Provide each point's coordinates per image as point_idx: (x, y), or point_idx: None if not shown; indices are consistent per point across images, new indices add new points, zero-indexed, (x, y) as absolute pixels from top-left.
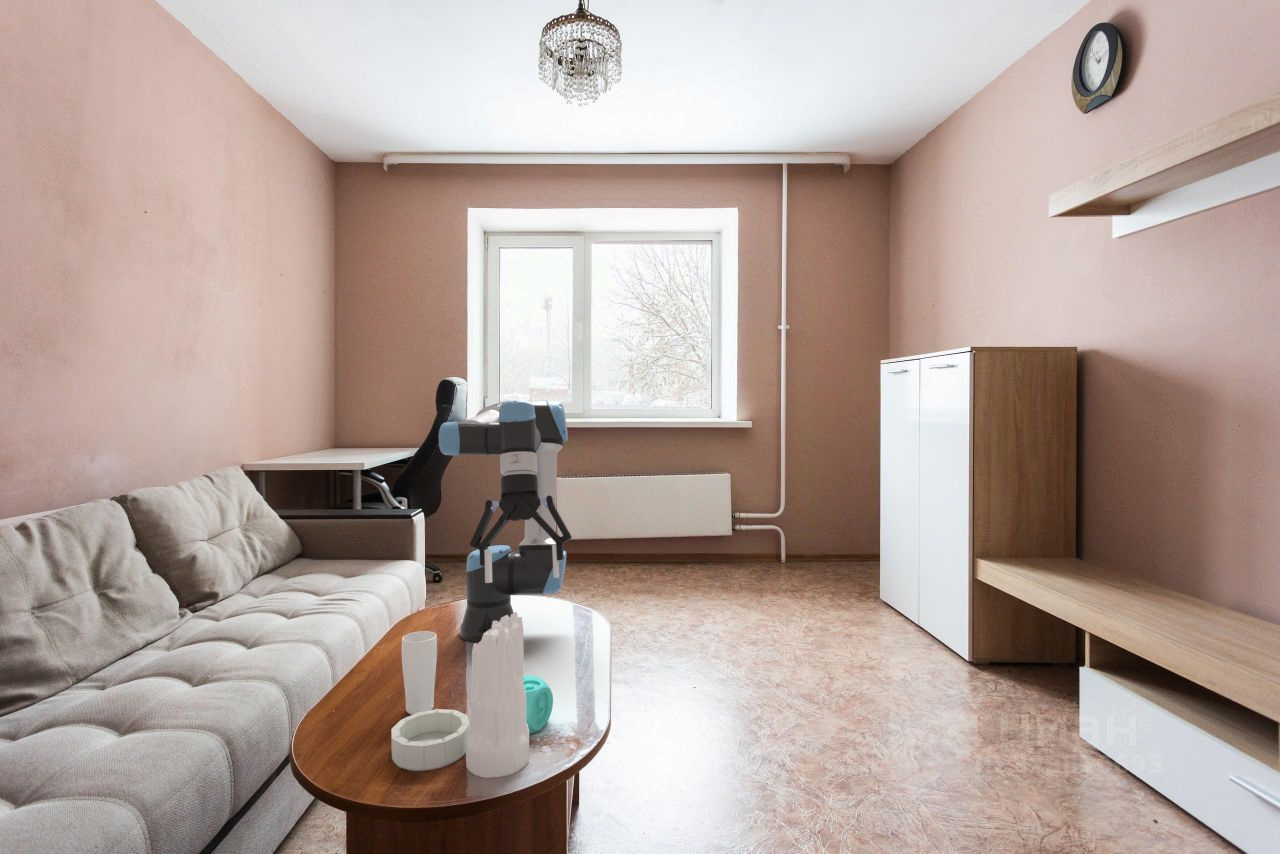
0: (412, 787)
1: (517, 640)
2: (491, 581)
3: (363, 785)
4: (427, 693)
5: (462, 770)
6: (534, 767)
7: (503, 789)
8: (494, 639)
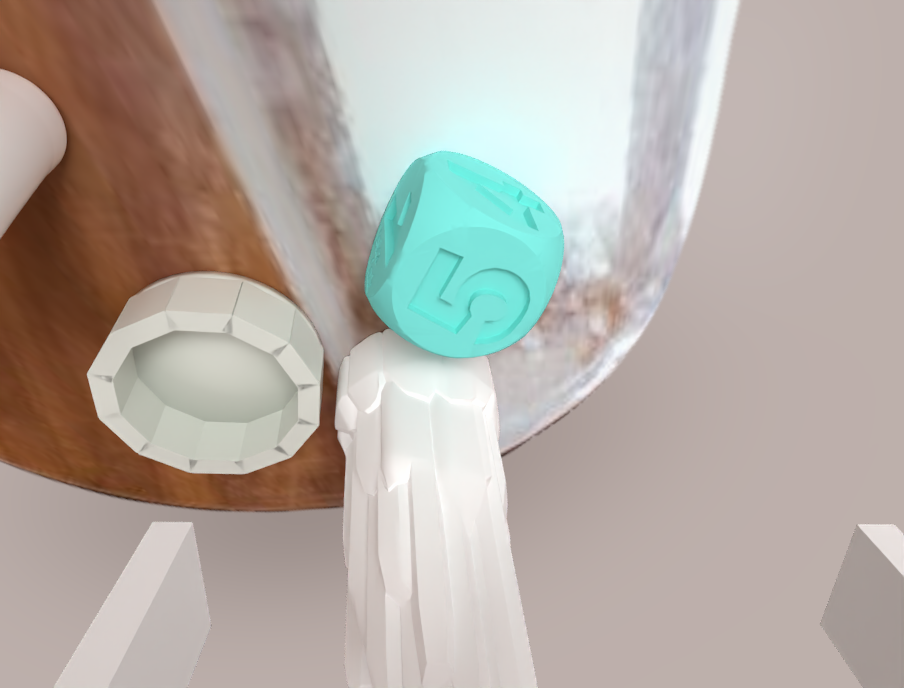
0: (259, 469)
1: None
2: (194, 554)
3: (147, 469)
4: (35, 189)
5: None
6: (506, 403)
7: None
8: None
